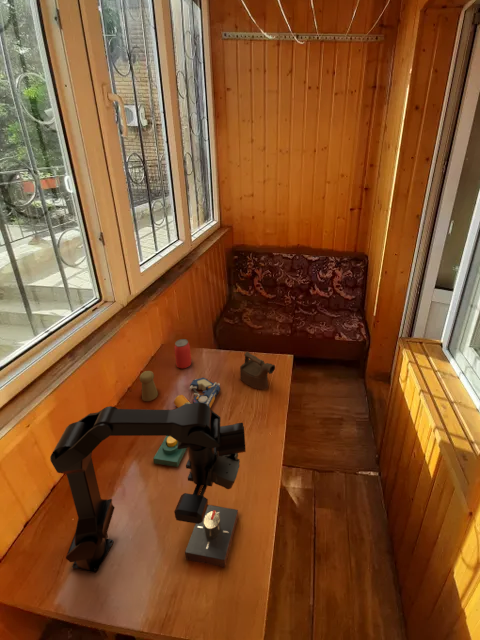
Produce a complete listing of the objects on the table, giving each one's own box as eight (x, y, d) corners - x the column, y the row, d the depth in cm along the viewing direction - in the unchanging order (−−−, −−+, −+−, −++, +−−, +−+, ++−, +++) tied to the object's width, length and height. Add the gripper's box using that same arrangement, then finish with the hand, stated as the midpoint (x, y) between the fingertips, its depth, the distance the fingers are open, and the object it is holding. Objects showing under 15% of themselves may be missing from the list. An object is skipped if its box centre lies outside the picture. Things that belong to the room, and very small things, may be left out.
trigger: (174, 448, 100) (173, 444, 100) (165, 446, 101) (164, 442, 100) (179, 439, 103) (178, 435, 103) (170, 437, 104) (169, 434, 103)
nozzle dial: (217, 540, 78) (216, 529, 76) (202, 537, 78) (201, 526, 77) (222, 522, 81) (222, 511, 80) (208, 519, 82) (207, 508, 80)
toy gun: (165, 420, 114) (204, 426, 112) (164, 411, 113) (203, 417, 111) (190, 381, 134) (223, 386, 132) (190, 373, 132) (223, 378, 130)
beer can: (175, 361, 145) (173, 340, 141) (190, 358, 148) (188, 336, 143) (177, 370, 139) (174, 348, 135) (192, 366, 142) (190, 344, 138)
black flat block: (225, 567, 75) (224, 559, 74) (186, 559, 76) (184, 551, 75) (238, 516, 85) (237, 509, 84) (203, 510, 87) (202, 503, 85)
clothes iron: (264, 398, 125) (264, 371, 121) (239, 378, 135) (238, 353, 131) (278, 387, 131) (278, 361, 126) (252, 369, 141) (252, 344, 136)
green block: (177, 467, 98) (176, 458, 97) (154, 463, 99) (152, 454, 98) (191, 439, 107) (190, 430, 106) (169, 436, 108) (168, 427, 107)
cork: (138, 399, 124) (134, 377, 120) (148, 388, 129) (145, 367, 125) (151, 402, 122) (147, 380, 118) (161, 391, 127) (157, 370, 124)
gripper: (221, 502, 63) (225, 549, 68) (245, 424, 80) (247, 467, 85) (169, 493, 64) (177, 541, 69) (204, 419, 82) (208, 461, 87)
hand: (206, 498), depth 78 cm, fingers open, 9 cm apart
